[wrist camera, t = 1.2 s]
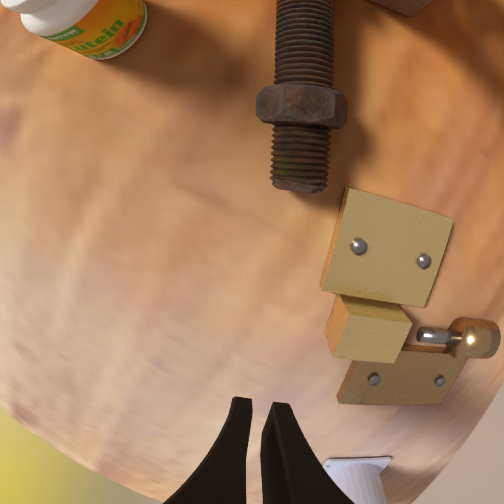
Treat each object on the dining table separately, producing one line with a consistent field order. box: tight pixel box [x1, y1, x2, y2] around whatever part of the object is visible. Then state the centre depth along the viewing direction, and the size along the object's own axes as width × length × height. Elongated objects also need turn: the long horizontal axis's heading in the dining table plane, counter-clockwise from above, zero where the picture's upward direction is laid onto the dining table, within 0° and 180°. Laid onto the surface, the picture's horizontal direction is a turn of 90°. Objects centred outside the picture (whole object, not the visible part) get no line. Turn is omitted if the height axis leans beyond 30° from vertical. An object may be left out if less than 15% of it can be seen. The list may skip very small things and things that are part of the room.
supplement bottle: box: [1, 0, 147, 60], centre depth 11 cm, size 5×5×10 cm
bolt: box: [256, 0, 348, 193], centre depth 14 cm, size 6×5×15 cm
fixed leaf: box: [337, 318, 501, 405], centre depth 21 cm, size 9×12×3 cm
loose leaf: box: [320, 187, 454, 363], centre depth 19 cm, size 10×8×3 cm
